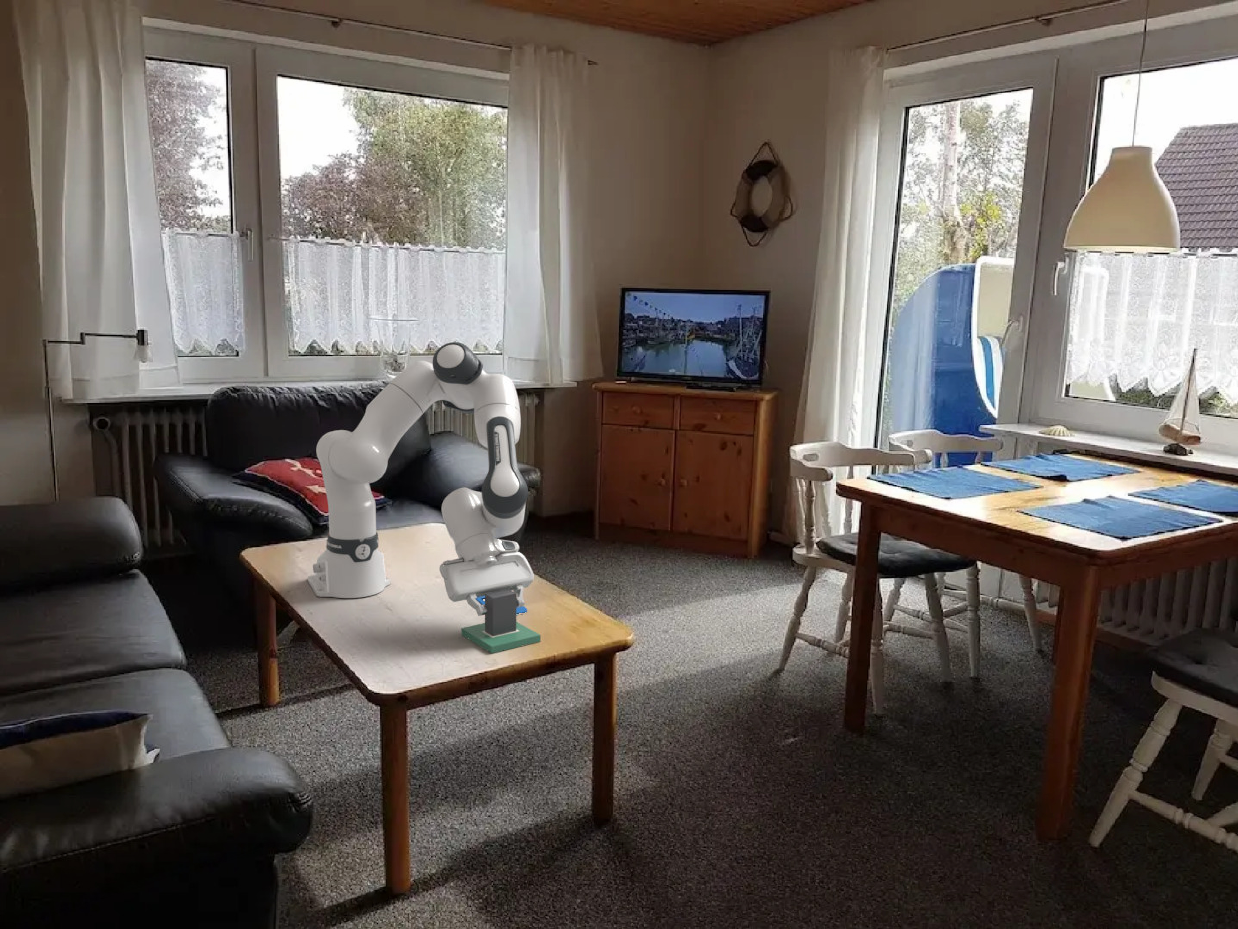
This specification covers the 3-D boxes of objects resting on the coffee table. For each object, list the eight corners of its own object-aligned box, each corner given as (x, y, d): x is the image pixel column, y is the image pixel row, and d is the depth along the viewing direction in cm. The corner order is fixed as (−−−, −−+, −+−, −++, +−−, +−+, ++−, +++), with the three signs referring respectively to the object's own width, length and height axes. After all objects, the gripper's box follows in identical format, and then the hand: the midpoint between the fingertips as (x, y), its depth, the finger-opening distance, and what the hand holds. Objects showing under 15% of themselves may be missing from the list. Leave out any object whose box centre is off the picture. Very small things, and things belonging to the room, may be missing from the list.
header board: (461, 634, 209) (461, 615, 208) (508, 623, 216) (508, 605, 215) (491, 653, 199) (491, 633, 198) (540, 641, 206) (540, 622, 205)
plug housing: (484, 631, 207) (484, 593, 205) (508, 626, 210) (508, 589, 208) (493, 636, 204) (493, 598, 202) (516, 630, 207) (516, 593, 206)
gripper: (441, 554, 203) (464, 612, 197) (523, 541, 215) (547, 594, 210) (432, 569, 207) (453, 626, 201) (512, 555, 220) (535, 608, 214)
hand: (502, 610), depth 206 cm, fingers open, 8 cm apart
